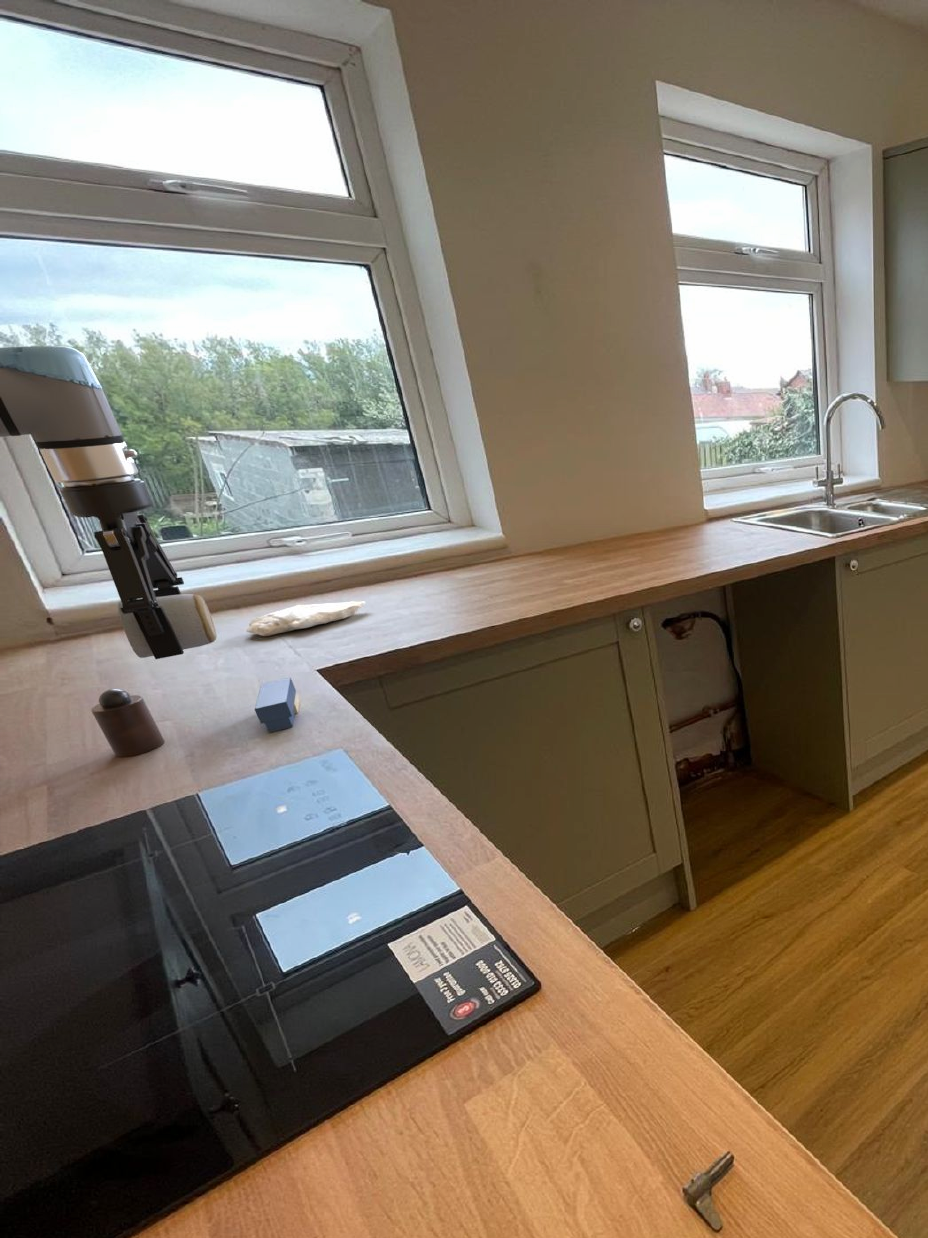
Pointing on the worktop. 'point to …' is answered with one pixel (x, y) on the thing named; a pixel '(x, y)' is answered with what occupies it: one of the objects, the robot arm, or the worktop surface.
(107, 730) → the pepper mill
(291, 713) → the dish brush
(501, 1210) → the worktop surface
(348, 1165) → the worktop surface
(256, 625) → the rock
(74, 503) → the robot arm
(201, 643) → the white canister
